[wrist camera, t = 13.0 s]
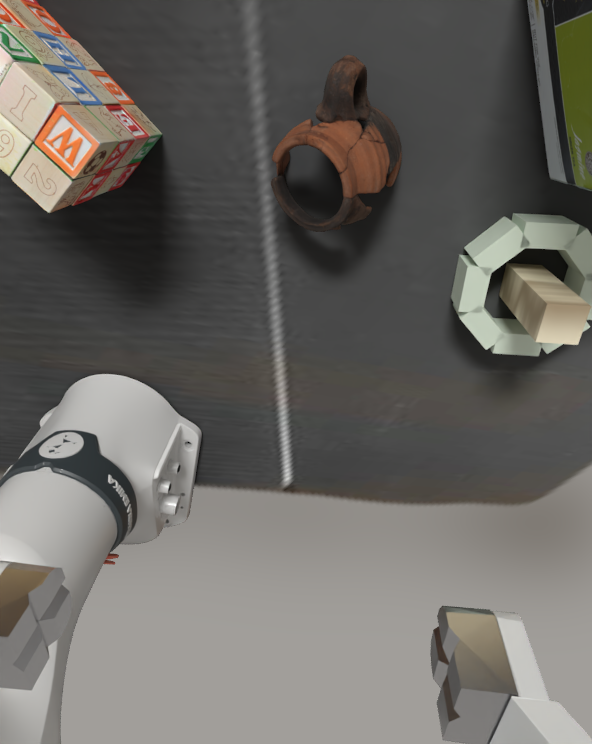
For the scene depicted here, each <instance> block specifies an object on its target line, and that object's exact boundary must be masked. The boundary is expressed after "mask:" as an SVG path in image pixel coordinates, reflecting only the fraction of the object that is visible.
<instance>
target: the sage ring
mask: <svg viewBox="0 0 592 744" xmlns="http://www.w3.org/2000/svg"><path fill="white" fill-rule="evenodd" d="M525 248H536V249H555V250H558V252H559V253H560V254H561V256H562V257H563V259H564V260H565V262H566V263H567V264H568V269H567V272H566V275H565V278H564V282H563V283H564V284H565V285H566V286H567V287H569V288H570V289H571V290H572V291H573V292H575V293H576V294H577V295H578V296H579V297H581V298H582V299H583V300H584V301H585V302H587V303H588V304H589V305H590V306H591V309H590V312H589V315H588V318H587V320H592V235H591V234H590V232H589V231H588V229H587V228H585V227H583V226H581V225H579V224H577V223H576V222H574V221H572V220H570V219H568V218H566V217H564V216H561V215H540V214H518V213H513V216H512V220H509V219H508V218H506V217H505V216H504V217H503V218H501V219H500V220H499V221H498V222H496V223H495V224H494V225H492V226H491V227H490V228H489V229H487V230H486V231H485V232H483V233H482V234H481V235H480V236H478V237H477V238H476V239H474V240H473V241H472V242H471V243H469V244H468V245H467V246H465V247H464V249H465V250H466V251H467V252H468V254H469V255H459V259H458V264H457V269H456V274H455V279H454V284H453V289H452V294H451V299H452V301H453V303H454V304H453V306H454V308H455V310H456V312H457V314H458V316H459V318H460V319H461V321H462V322H463V323H464V324H465V325H466V327H467V328H468V329H469V330H470V331H471V333H472V334H473V335H474V336H475V337H476V339H477V340H478V341H479V342H480V343H481V345H482V346H483V347H484V348H485V349H486V350H487V349H488V348H490V349H491V351H492V353H496V354H511V355H526V356H539V354H540V350H541V347H542V348H543V350H544V351H545V352H546V353H547V354H548V353H550V352H551V351H553V350H555V349H556V348H558V347H559V346H561V345H563V344H556V343H541V342H535V341H534V339H533V338H532V337H531V336H530V334H529V333H528V332H527V331H526V329H525V328H524V327H523V325H522V324H521V323H520V322H519V320H518V319H503V318H492V316H491V315H490V314H489V313H488V311H487V310H486V309H485V308H484V302H485V298H486V294H487V290H488V285H489V281H490V277H491V273H492V272H494V271H495V270H496V269H498V268H499V267H500V266H502V265H503V264H504V263H506V262H507V261H509V260H510V259H511V258H513V257H514V256H515V255H517V254H518V253H520V252H521V251H522V250H524V249H525ZM588 328H590V326H589V324H588V323H587V321H586V323H585V326H584V329H583V331H585V330H587V329H588Z"/></svg>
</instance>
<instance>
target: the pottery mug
mask: <svg viewBox="0 0 592 744" xmlns="http://www.w3.org/2000/svg"><path fill="white" fill-rule="evenodd" d="M366 87H367V70H366V67H365V65H364V64H363V63H361V62H360V61H359V60H358V59H357V58H356V57H355V56H351V55H346V56H344V57H343V58H342V59H340V60H339V61H337V62H336V63H335V64H334V65H333V66H332V68H331V70H330V72H329V74H328V77H327V81H326V85H325V89H324V98H323V101H322V103H320V104H319V105H318V106H317V110H316V117H317V119H318V120H319V121H322V123H319V124H318V125H316V126H313V122H312V120H311V119H309V120H306V121H304V122H302V123H301V124H299V125H298V126H296V127H294V128H293V129H292V130H291V131H290V132H289V133H288V134H287V135H286V136H285V137H284V138H283V140H282V141H281V142H280V144H279V145H278V146H277V147H276V149H275V152H274V154H273V157H272V160H273V161H274V162H275V163H276V167H277V177H275V178H273V179H272V181H271V186H272V188H273V192H274V194H275V196H276V198H277V201H278V203H279V204H280V206H281V208H282V209H283V210H284V212H285V213H286V214H287V215H288V216H289V217H291V218H292V219H293V221H295V222H296V223H297V224H298V225H301V226H302V227H304V228H306V229H308V230H312V231H316V232H325V231H326V230H327V231H328V230H331V229H340V228H341V226H340V225H341V224H345V225H346V224H352V223H354V222H356V221H358V220H363V219H365V218H366V217H367V216H368V214H369V213H370V212H371V211H372V207H370V206H365V205H364V204H363V203H362V201H361V200H360V197H359V196H358V194H360V193H361V194H367V193H379V192H380V190H381V189H382V188H383V187H384V186H385V184H386V185H387V186H389V187H391V186H392V185H393V184H394V182H395V180H396V177H397V174H398V172H399V169H400V165H401V155H402V153H401V142H400V138H399V135H398V133H397V130H396V128H395V126H394V125H393V123H392V122H391V120H390V119H389V118H388V117H387V116H386V115H385V114H383V113H382V112H381V111H380V110H378V109H376V108H373V107H372V106H370V103H369V100H368V97H367V91H366ZM357 120H360V121H365V122H366V124H365V127H364V129H362V126H361V124H360V123H359V122H358V121H357ZM299 145H310V146H312V147H315V148H317V149H318V150H320V151H321V152H323V153H324V154H325V155H326V156H327V157H328V158H329V159H330V160H331V161H332V163H333V164H334V166H335V167H336V169H337V171H338V173H339V174H340V178H341V181H342V187H343V197H344V198H343V201H342V205H341V208H340V210H339V211H338V212H337V214H336V215H335V216H333V217H332V218H330V219H317V218H314V217H312V216H310V215H308V214H307V213H306V212H305V211H304V210H303V209H302V208H301V207H300V206H299V205H298V204H297V203H296V202H295V200H294V199H293V197H292V196H291V194H290V192H289V189H288V186H287V183H286V179H285V174H284V170H285V168H286V166H287V164H288V163H289V160H290V155H289V151H290V150H291V149H292V148H293V147H295V146H299ZM387 175H389V177H388V180H387V183H386V176H387Z"/></svg>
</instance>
